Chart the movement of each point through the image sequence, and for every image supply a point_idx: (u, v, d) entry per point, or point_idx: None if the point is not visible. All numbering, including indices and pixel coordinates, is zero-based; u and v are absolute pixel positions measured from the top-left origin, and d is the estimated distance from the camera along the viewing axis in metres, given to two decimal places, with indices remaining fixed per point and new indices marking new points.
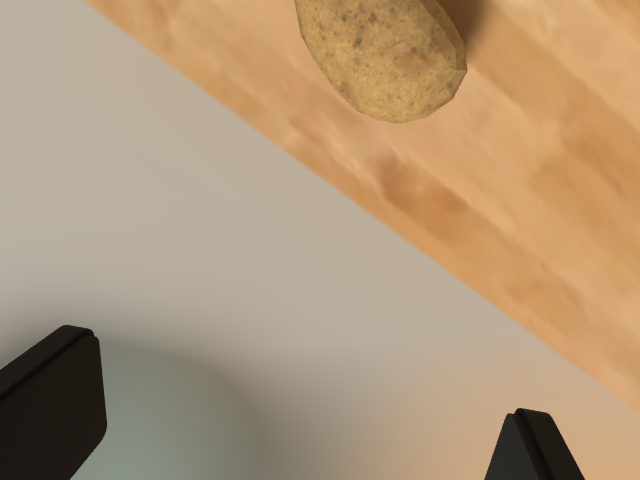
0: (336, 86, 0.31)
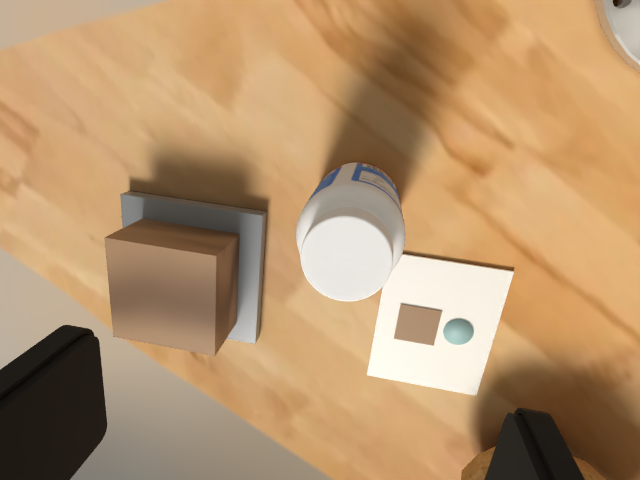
0: None
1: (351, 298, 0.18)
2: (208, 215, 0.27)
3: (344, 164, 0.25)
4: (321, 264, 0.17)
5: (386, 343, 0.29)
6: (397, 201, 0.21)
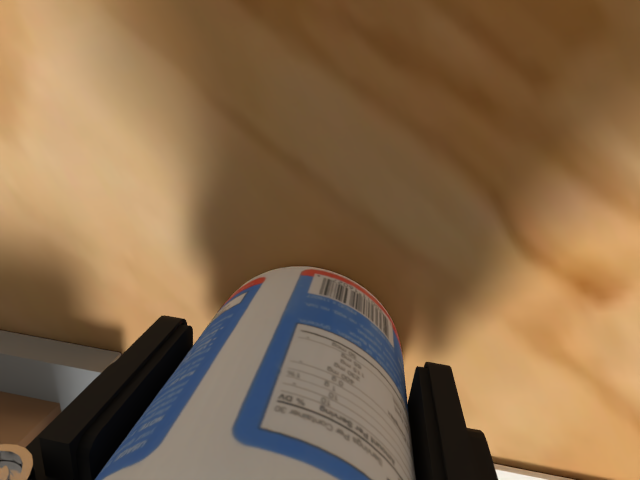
0: None
1: None
2: None
3: (272, 272, 0.11)
4: None
5: None
6: (400, 455, 0.07)
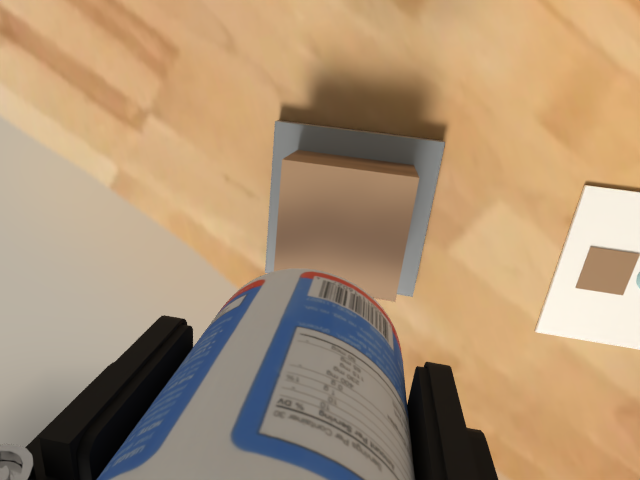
0: None
1: None
2: (378, 143, 0.24)
3: (272, 274, 0.11)
4: None
5: (565, 294, 0.26)
6: (400, 460, 0.06)
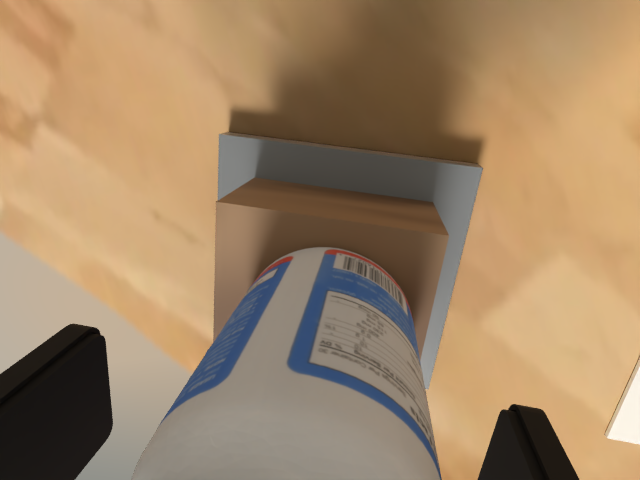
0: None
1: None
2: (378, 169, 0.15)
3: (298, 251, 0.12)
4: None
5: None
6: (418, 394, 0.08)
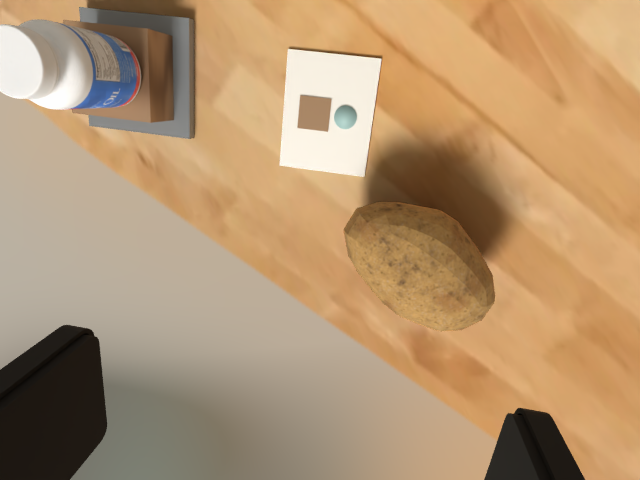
0: None
1: (22, 94, 0.24)
2: (147, 21, 0.35)
3: None
4: None
5: (292, 133, 0.37)
6: (96, 45, 0.27)
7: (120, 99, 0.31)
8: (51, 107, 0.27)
